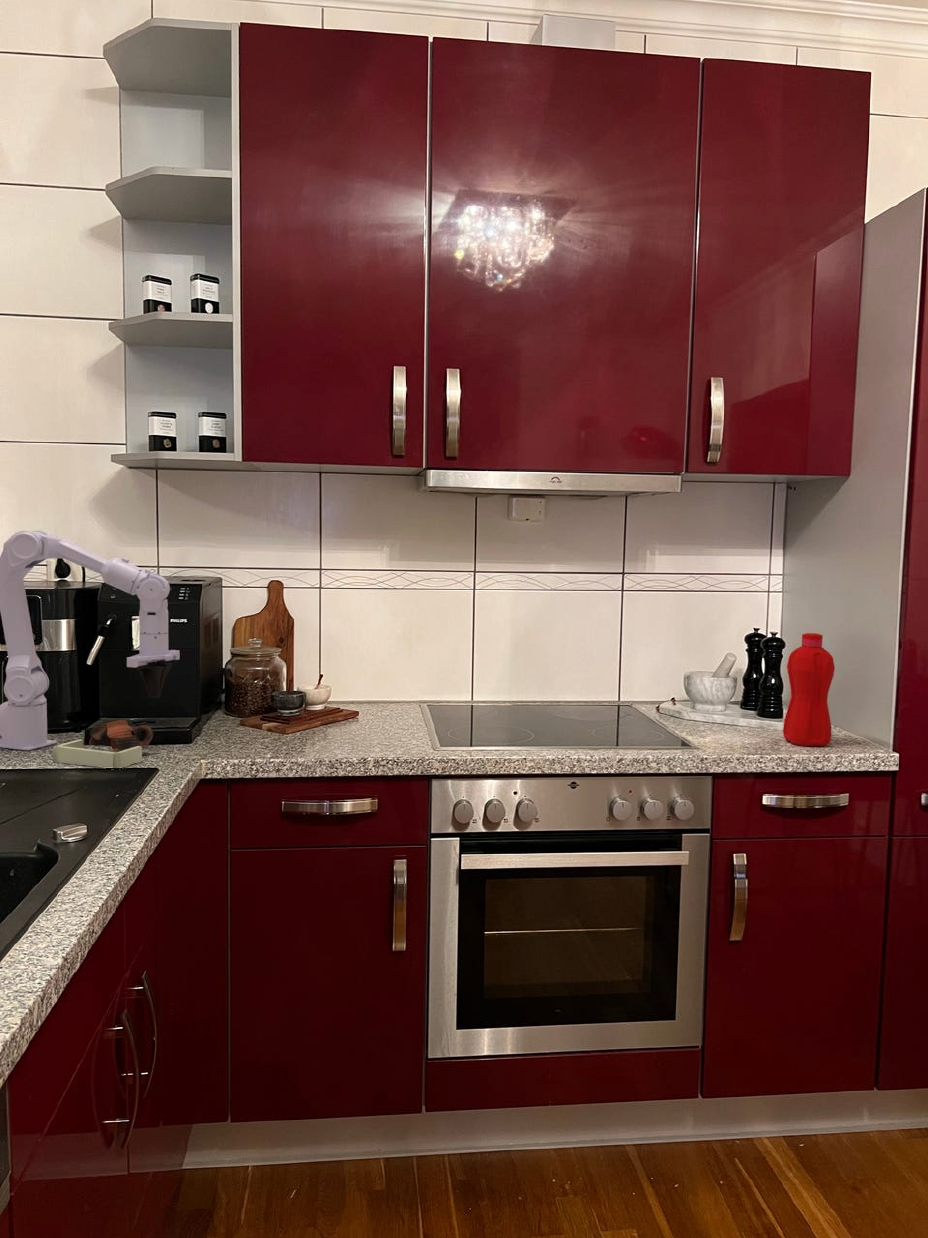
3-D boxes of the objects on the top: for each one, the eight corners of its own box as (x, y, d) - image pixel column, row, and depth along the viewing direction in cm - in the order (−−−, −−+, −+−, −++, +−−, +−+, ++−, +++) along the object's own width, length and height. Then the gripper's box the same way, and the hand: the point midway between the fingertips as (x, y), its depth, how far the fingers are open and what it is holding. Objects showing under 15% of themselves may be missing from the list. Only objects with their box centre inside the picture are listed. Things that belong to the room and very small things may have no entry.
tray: (53, 761, 180) (53, 746, 179) (79, 754, 186) (79, 739, 186) (117, 770, 175) (117, 754, 174) (141, 761, 181) (141, 746, 181)
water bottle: (813, 737, 219) (819, 630, 216) (835, 747, 208) (842, 635, 205) (775, 736, 218) (780, 630, 216) (795, 747, 207) (801, 635, 205)
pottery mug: (95, 767, 178) (83, 727, 180) (99, 777, 187) (88, 739, 189) (158, 747, 183) (146, 708, 185) (160, 758, 191) (148, 721, 193)
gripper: (147, 637, 186) (147, 704, 187) (191, 630, 200) (191, 693, 201) (118, 635, 188) (118, 701, 190) (163, 629, 202) (164, 691, 203)
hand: (154, 697), depth 195 cm, fingers closed
